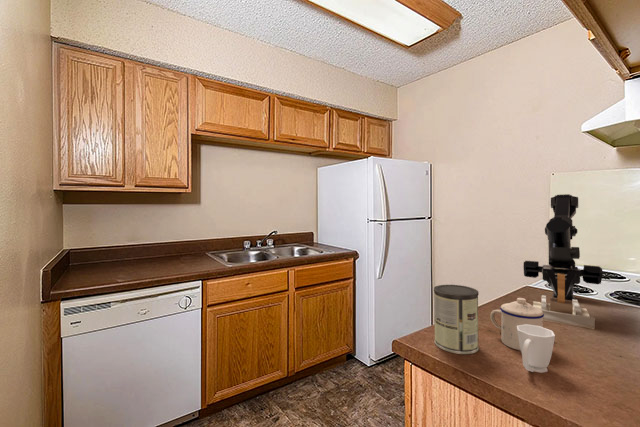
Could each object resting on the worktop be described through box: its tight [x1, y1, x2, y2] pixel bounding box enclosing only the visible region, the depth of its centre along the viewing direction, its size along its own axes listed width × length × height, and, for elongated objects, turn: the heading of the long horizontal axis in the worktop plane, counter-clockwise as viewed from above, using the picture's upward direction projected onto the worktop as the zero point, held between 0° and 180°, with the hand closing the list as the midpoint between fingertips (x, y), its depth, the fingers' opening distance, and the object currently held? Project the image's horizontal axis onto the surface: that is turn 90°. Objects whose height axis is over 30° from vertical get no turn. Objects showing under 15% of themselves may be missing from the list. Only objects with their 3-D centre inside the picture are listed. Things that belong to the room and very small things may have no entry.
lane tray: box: [532, 295, 596, 330], centre depth 94 cm, size 20×14×4 cm
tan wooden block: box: [549, 273, 573, 314], centre depth 89 cm, size 5×5×13 cm
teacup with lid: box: [489, 297, 544, 352], centre depth 77 cm, size 12×9×12 cm
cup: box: [517, 324, 556, 374], centre depth 64 cm, size 7×10×8 cm
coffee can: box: [433, 284, 480, 355], centre depth 76 cm, size 10×10×14 cm
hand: (561, 295), depth 88 cm, fingers closed on tan wooden block
